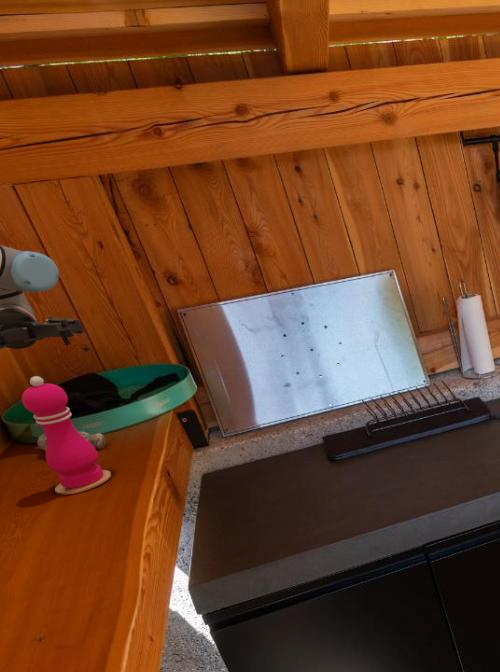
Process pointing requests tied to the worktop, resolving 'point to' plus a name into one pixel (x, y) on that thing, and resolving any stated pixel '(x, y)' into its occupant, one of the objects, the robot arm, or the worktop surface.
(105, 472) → the cork mat
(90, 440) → the stone
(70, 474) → the pepper mill
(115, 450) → the worktop surface
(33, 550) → the worktop surface
